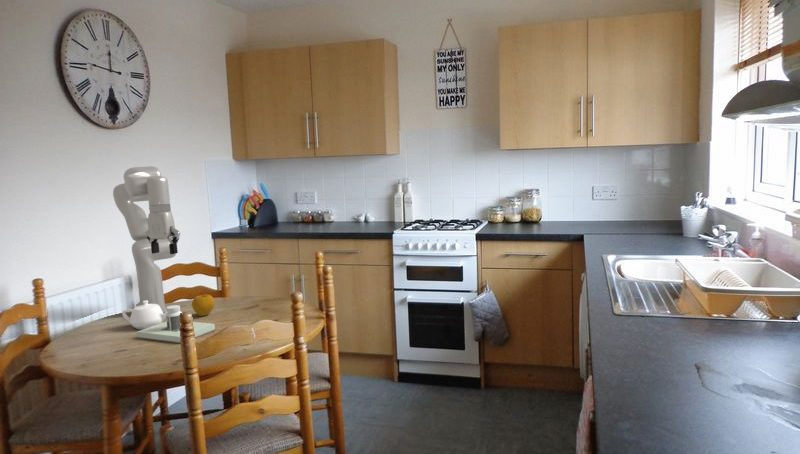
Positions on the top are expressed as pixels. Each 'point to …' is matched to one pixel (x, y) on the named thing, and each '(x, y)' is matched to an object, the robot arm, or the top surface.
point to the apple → (203, 304)
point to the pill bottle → (173, 318)
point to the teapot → (145, 315)
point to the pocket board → (172, 332)
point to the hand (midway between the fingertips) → (164, 253)
